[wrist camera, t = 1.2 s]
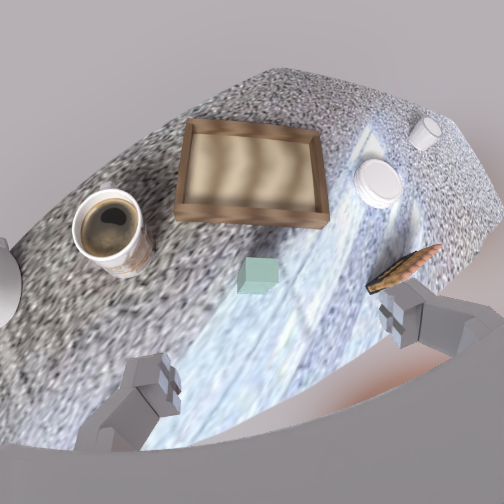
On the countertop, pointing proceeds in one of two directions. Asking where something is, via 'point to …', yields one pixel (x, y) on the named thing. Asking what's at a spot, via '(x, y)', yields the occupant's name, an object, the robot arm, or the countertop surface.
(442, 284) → the countertop surface
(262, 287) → the grey-green rectangular block
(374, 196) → the white round disc stack
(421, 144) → the white cylinder
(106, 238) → the mug
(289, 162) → the wooden serving tray
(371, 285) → the ammunition clip
